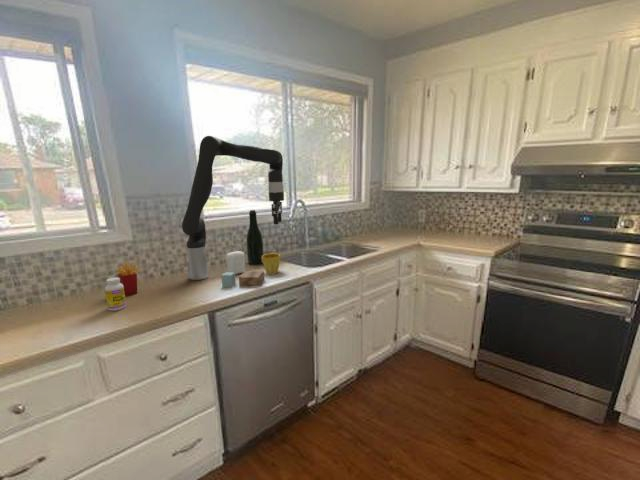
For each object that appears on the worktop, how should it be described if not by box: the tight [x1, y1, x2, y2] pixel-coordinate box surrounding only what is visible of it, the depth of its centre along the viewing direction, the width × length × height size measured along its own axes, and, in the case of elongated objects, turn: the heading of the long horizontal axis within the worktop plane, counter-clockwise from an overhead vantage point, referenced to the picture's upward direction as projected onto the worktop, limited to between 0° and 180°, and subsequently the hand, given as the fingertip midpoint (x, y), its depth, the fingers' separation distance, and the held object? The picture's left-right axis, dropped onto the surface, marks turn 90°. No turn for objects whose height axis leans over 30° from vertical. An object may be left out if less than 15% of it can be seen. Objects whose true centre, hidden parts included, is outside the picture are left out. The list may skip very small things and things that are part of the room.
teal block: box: [221, 271, 237, 288], centre depth 161 cm, size 5×5×6 cm
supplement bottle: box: [104, 276, 127, 312], centre depth 135 cm, size 7×7×13 cm
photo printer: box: [225, 250, 246, 275], centre depth 180 cm, size 10×4×12 cm, turn 123°
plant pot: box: [261, 253, 281, 275], centre depth 180 cm, size 10×10×10 cm
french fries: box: [116, 262, 141, 297], centre depth 153 cm, size 9×8×15 cm
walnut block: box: [238, 270, 265, 288], centre depth 163 cm, size 10×10×5 cm
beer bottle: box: [245, 209, 265, 265], centre depth 199 cm, size 10×10×33 cm
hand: (277, 223), depth 166 cm, fingers open, 8 cm apart
